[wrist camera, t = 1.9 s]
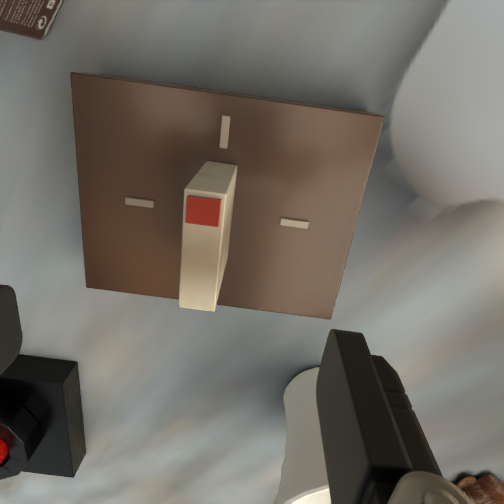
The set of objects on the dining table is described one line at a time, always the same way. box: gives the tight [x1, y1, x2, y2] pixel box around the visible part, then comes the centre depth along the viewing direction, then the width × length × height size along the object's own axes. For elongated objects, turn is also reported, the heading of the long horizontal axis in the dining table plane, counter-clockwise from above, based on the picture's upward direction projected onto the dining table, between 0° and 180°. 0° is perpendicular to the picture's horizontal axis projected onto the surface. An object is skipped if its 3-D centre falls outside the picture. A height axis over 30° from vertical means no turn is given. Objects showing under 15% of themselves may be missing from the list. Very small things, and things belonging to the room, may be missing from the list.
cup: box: [274, 367, 331, 504], centre depth 23 cm, size 9×9×10 cm
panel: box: [70, 72, 384, 319], centre depth 20 cm, size 14×11×3 cm
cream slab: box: [178, 161, 237, 312], centre depth 16 cm, size 5×2×5 cm, turn 173°
